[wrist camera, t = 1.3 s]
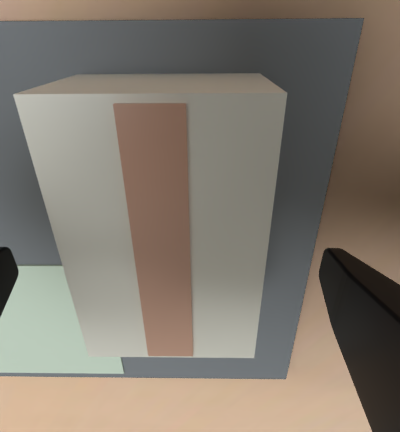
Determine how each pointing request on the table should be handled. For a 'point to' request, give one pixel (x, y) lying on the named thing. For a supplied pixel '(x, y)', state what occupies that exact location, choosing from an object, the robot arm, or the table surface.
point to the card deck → (160, 205)
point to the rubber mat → (170, 64)
